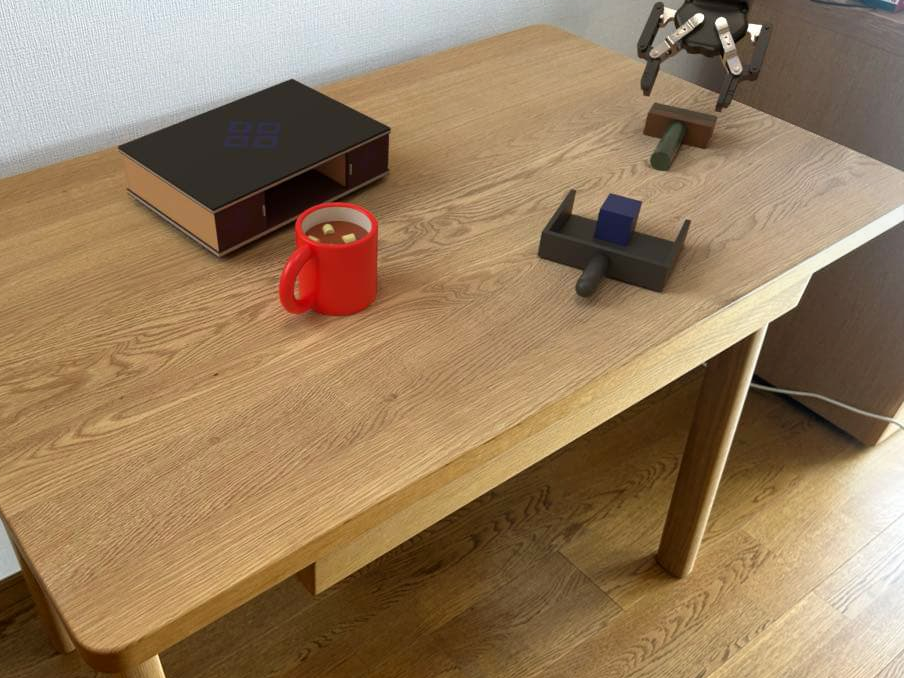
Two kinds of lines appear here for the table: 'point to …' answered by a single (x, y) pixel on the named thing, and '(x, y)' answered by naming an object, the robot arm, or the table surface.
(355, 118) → the low tv stand
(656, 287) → the dustpan
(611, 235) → the navy blue toy block
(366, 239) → the mug
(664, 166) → the brush
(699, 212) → the table surface
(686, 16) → the robot arm
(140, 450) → the table surface
